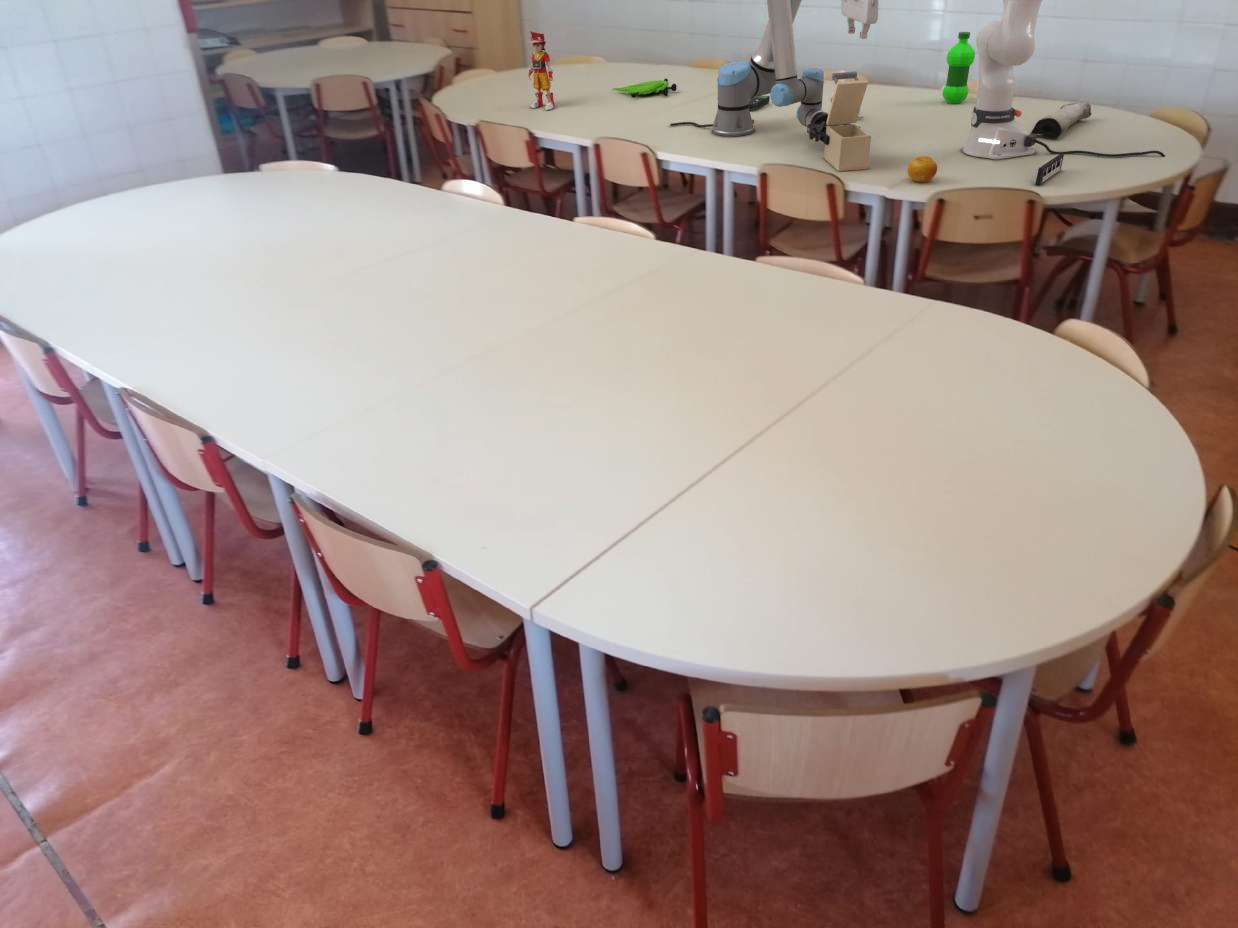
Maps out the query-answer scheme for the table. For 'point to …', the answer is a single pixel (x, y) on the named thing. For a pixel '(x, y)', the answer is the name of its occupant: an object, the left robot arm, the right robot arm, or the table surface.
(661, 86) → the toy
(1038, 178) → the midi keyboard
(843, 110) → the lid
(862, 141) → the chest
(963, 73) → the plastic bottle
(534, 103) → the toy
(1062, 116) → the rolled mat
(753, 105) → the disk drive
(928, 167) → the fruit
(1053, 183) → the table surface
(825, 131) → the left robot arm
